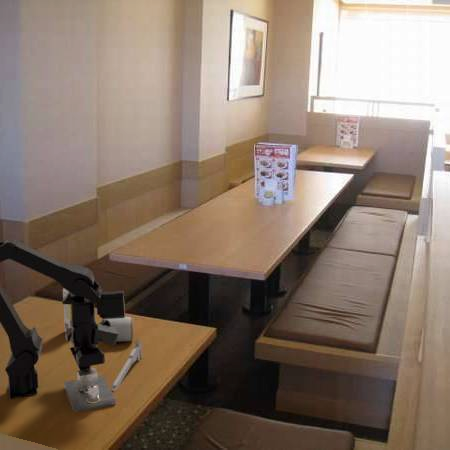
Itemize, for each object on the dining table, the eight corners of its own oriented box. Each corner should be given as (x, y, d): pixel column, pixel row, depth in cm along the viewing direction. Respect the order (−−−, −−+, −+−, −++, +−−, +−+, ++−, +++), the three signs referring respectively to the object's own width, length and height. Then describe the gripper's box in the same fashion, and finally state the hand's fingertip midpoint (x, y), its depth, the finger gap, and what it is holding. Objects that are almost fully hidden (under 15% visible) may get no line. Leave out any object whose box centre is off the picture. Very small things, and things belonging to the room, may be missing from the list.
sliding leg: (80, 391, 157) (79, 375, 156) (78, 385, 160) (77, 370, 159) (98, 387, 159) (97, 372, 158) (95, 382, 162) (95, 367, 161)
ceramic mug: (134, 344, 189) (133, 320, 187) (105, 346, 187) (105, 321, 186) (133, 331, 199) (132, 307, 197) (106, 332, 198) (105, 309, 196)
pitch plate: (73, 412, 151) (72, 393, 150) (64, 387, 163) (63, 369, 161) (115, 404, 155) (115, 385, 154) (103, 380, 166) (102, 363, 165)
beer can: (89, 330, 198) (87, 284, 195) (74, 337, 193) (72, 290, 190) (75, 326, 201) (73, 281, 198) (60, 332, 196) (58, 286, 193)
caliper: (138, 357, 181) (138, 337, 179) (142, 358, 180) (141, 337, 179) (110, 392, 161) (110, 369, 160) (114, 392, 161) (114, 369, 160)
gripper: (124, 328, 153) (126, 387, 157) (106, 302, 170) (108, 356, 174) (78, 335, 149) (80, 396, 153) (63, 308, 165) (66, 363, 169)
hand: (85, 376), depth 162 cm, fingers closed
